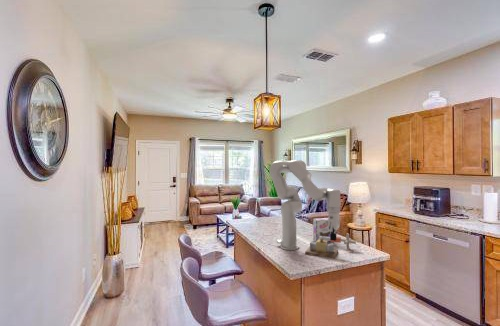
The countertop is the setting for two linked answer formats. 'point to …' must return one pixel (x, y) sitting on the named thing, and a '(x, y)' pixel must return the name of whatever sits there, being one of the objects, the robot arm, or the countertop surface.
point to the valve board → (321, 254)
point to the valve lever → (338, 239)
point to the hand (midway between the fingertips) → (333, 239)
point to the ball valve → (321, 246)
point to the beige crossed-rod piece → (347, 241)
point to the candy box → (320, 228)
